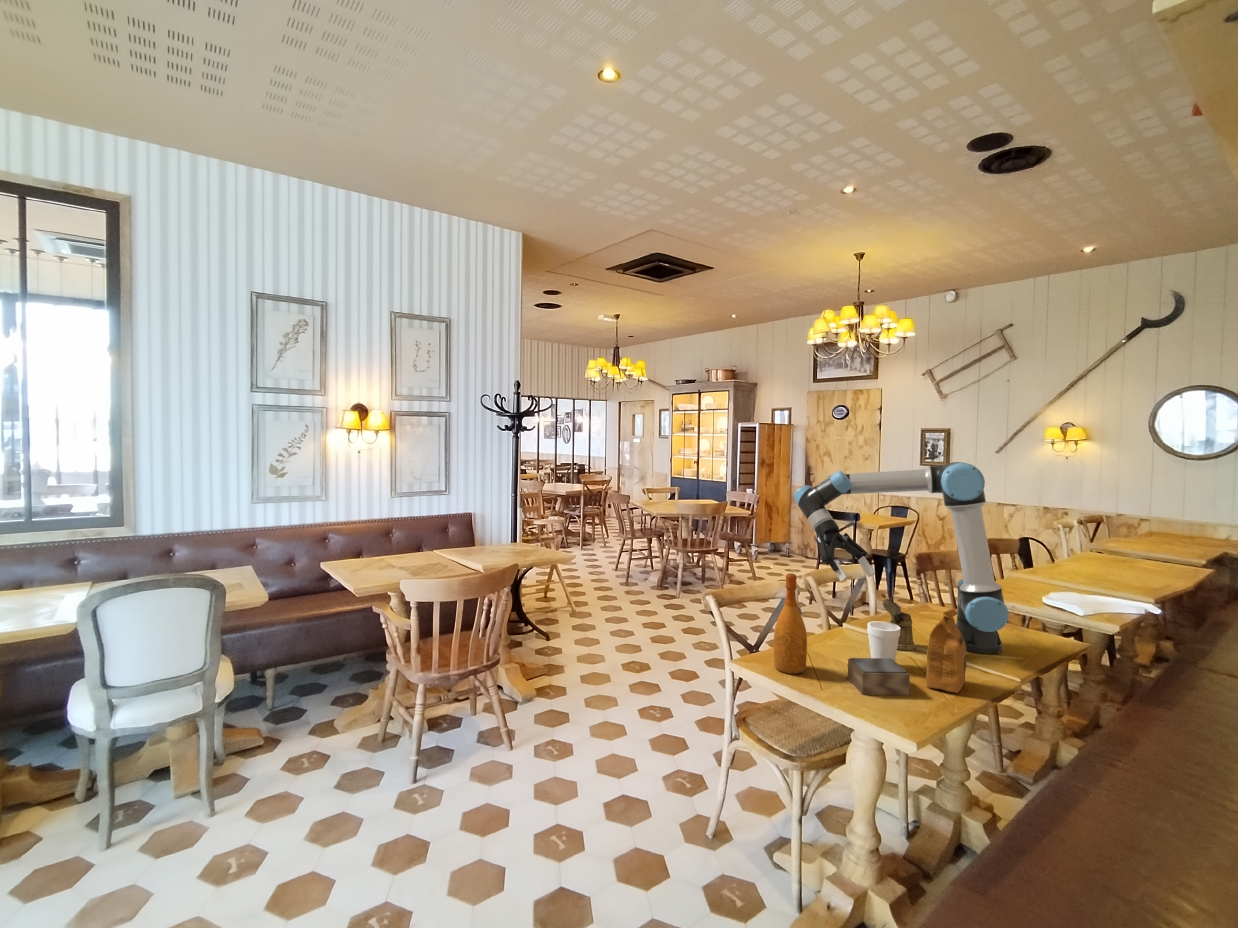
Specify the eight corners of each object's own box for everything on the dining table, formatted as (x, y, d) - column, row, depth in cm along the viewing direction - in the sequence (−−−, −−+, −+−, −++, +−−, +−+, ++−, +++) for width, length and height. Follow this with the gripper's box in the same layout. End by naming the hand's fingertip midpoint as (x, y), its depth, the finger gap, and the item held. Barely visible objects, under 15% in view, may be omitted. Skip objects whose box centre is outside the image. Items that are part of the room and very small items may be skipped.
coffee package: (971, 684, 168) (973, 610, 167) (959, 698, 160) (961, 619, 159) (934, 674, 175) (936, 603, 174) (920, 687, 167) (922, 611, 166)
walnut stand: (891, 678, 172) (892, 657, 172) (909, 695, 161) (909, 672, 161) (847, 678, 173) (848, 657, 172) (862, 694, 162) (862, 671, 161)
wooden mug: (873, 647, 198) (874, 596, 197) (894, 639, 206) (895, 590, 205) (899, 655, 191) (900, 602, 190) (919, 647, 199) (920, 595, 198)
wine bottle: (801, 677, 173) (803, 578, 171) (769, 670, 178) (770, 574, 177) (809, 667, 181) (811, 572, 180) (778, 660, 186) (780, 568, 185)
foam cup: (903, 666, 182) (904, 625, 181) (893, 675, 175) (894, 632, 174) (872, 658, 188) (873, 619, 188) (862, 666, 182) (862, 625, 181)
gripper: (841, 529, 210) (875, 579, 198) (792, 533, 198) (825, 586, 186) (854, 516, 205) (890, 567, 193) (804, 520, 193) (839, 574, 181)
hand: (858, 576), depth 189 cm, fingers open, 13 cm apart
